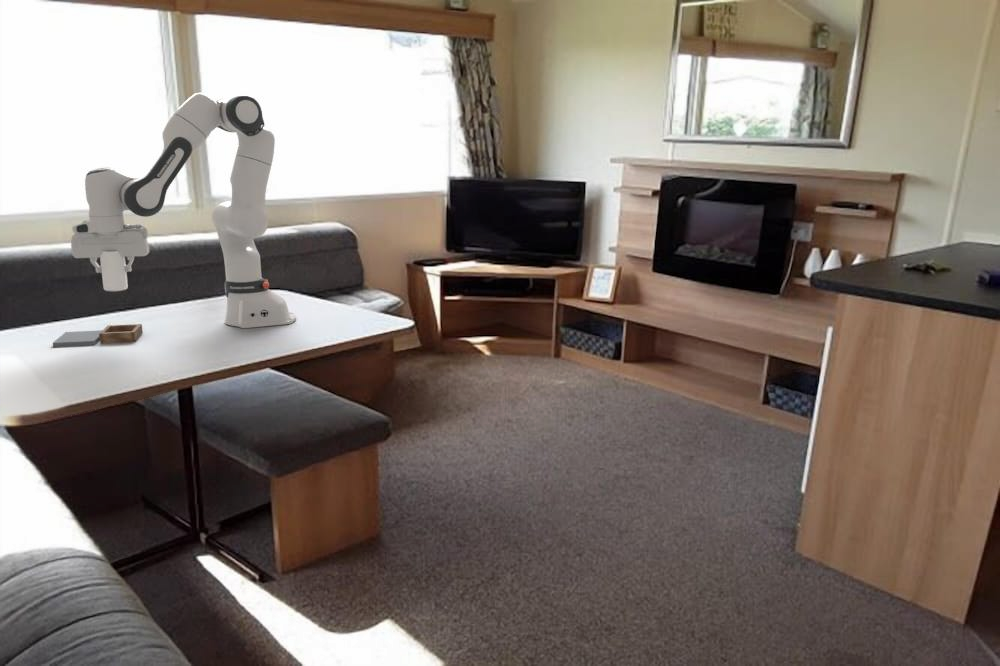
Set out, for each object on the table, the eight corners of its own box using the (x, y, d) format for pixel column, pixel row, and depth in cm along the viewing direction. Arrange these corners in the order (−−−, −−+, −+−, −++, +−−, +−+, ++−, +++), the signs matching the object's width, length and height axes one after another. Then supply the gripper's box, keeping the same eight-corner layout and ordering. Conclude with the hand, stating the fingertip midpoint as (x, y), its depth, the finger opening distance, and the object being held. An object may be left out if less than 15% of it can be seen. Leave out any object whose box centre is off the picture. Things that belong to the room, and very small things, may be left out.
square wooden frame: (142, 333, 228) (141, 323, 227) (135, 341, 219) (134, 332, 218) (109, 334, 226) (107, 325, 225) (100, 343, 217) (99, 333, 216)
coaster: (105, 333, 227) (105, 330, 227) (94, 344, 216) (94, 340, 215) (66, 335, 224) (65, 332, 224) (53, 346, 213) (52, 342, 213)
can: (132, 287, 221) (128, 248, 218) (119, 292, 215) (115, 251, 212) (112, 286, 222) (108, 247, 219) (98, 291, 216) (94, 250, 213)
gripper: (148, 222, 219) (154, 268, 223) (72, 224, 214) (79, 271, 218) (143, 225, 213) (149, 272, 217) (65, 227, 208) (73, 275, 212)
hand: (114, 271), depth 217 cm, fingers closed on can, 6 cm apart
